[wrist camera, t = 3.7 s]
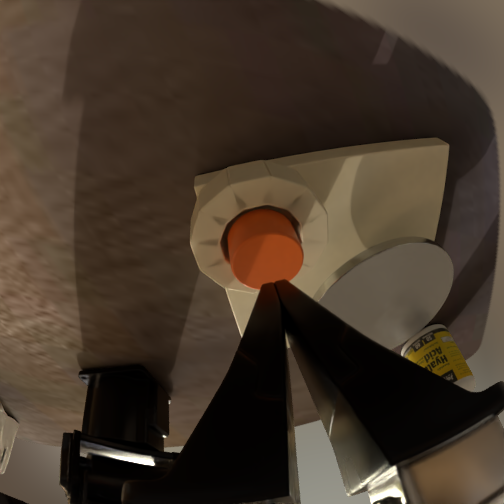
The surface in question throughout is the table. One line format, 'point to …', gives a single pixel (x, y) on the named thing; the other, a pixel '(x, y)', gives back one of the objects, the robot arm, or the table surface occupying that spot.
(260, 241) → the tare button
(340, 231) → the scale
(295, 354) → the robot arm
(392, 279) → the scale pan
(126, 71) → the table surface
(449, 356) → the supplement bottle
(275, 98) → the table surface
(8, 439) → the shaker set
